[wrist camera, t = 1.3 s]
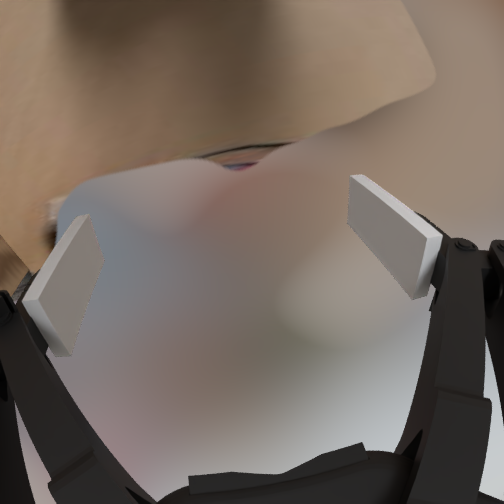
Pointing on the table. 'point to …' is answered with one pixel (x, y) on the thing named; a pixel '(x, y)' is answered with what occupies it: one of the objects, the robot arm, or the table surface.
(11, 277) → the board
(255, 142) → the table surface
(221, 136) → the table surface
